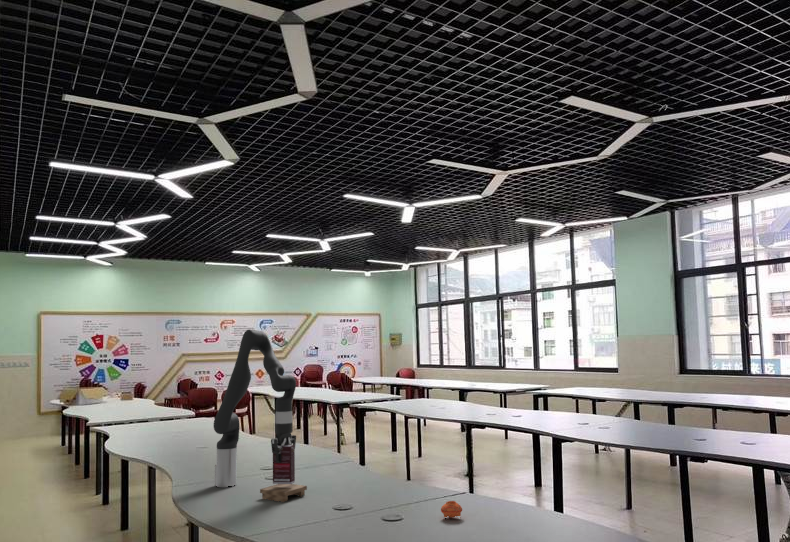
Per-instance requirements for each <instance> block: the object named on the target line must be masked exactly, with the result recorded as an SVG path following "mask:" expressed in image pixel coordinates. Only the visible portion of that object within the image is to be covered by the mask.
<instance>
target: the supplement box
mask: <svg viewBox="0 0 790 542" xmlns="http://www.w3.org/2000/svg"><path fill="white" fill-rule="evenodd" d="M295 449H296V444H295V445H293V444H292V445H285V446H284V447H283V449H282V451H281V463H277V462H276V454H275V453H272V484H273V485H276V484H294V483H296V477H295V476H296V475H295V474H296V470H295V468H296V465H295V462H296V461H295V460H296V459H295V457H296V455H295V452H296V451H295ZM278 451H279V449H278Z"/></svg>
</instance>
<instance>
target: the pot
mask: <svg viewBox="0 0 790 542" xmlns="http://www.w3.org/2000/svg"><path fill="white" fill-rule="evenodd" d="M462 511H463V507H462V506H461V504H460V503H458V502H457V501H455V500H450V501H446V502H445V503H444V504H443V505H442V506H441V507H440V512H441V513H442V514H443V518H444V517H447V516H449V517H447V518H456V517H457V516H461V515H462ZM455 516H456V517H455ZM461 517H462V516H461Z"/></svg>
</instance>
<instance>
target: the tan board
mask: <svg viewBox="0 0 790 542" xmlns="http://www.w3.org/2000/svg"><path fill="white" fill-rule="evenodd" d="M307 490H308V486H307V485H303V484H302V485H301V484H294V483H292V484H273V485H270V486H265V487H263V488H260V489H259V493H260V494H262V495H261V497H262V500H266V499H268V500H267V501H273V500H274V501H273V502H279V501H281V502H280V503H285V501H286V502H288V499H289V498H288V496H294V495H299V496H298V497H303V496H302V495H304V496H305V491H307Z"/></svg>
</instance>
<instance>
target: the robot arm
mask: <svg viewBox="0 0 790 542" xmlns="http://www.w3.org/2000/svg"><path fill="white" fill-rule="evenodd" d="M241 337H242V338H241V341H240V345H239V348H238V353H237V357H236V359H235V364H234V367H233V369H232V373H231V375H230V378H229V382H228V383H227V387H226V391H225V394H224V397H222V402H221V404H220V406H219V408H218V410H217V412H216V415H215V418H214V419H213V420H214V421H213V430H214V432H215V433H216V434H218V435H222V437H221V438H220V439H219V440H218V441H217V443H216V464H215V465H214V486H215V485H216V486H217V488H229V487H228V486H232V487H235V486H237V472H238V470H237V469H238V468H237V466H238V465H237V464H238V463H237V460H238V457H237V456H238V453H237V452H238V448H237V447H238V443H239V439H240V418H239V416H238V415H237V414H236V413H235V412H234V411H235V408H236V406H237V405H238V403H239V402H240V401H241V400H242V398H244V396H245V394H247V391H248V388H249V385H250V383H251V380H252V373H251V369H250V365H249V358H250V353H251V351H259V352H260V353H262V355H263V359H262V364H263V368H264V370H265V372H266V373H267V375H268V376H269V380H270V384H271V389H272V390H274V391H275V392H277V393H283V395H282V396H281V397H278V398H276V400H275V415H274V416H275V418H274V427H275V428H274V433H275V434H276V437H275V438H271V439H270V445H271V453H272V454H273V453H275V454H276V462H277V463H281V451H282V449H283V447H284V446H285V445H295V446H296V443H297V435H294V434H292V433H293V431H294V429H293V427H294V426H293V425H294V424H293V423H294V422H293V421H294V420H293V400H294V399H293V398H294V396H295V391H296V388H297V380H296V378H295V376H294V375H290V374H288V375H285V368H284V366H283V365H282V363H281V362H280V361H279V359H278V357H277V355H276V354H275V351H274V349H273V346H272V344H271V341H270V339H269V336H268V335H267V333H266V332H264V331H261V330H257V329H256V330H255V329H247V330H245V331H244V333H243V335H242V336H241ZM278 449H279V451H278ZM234 485H235V486H234ZM216 486H215V487H216Z"/></svg>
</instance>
